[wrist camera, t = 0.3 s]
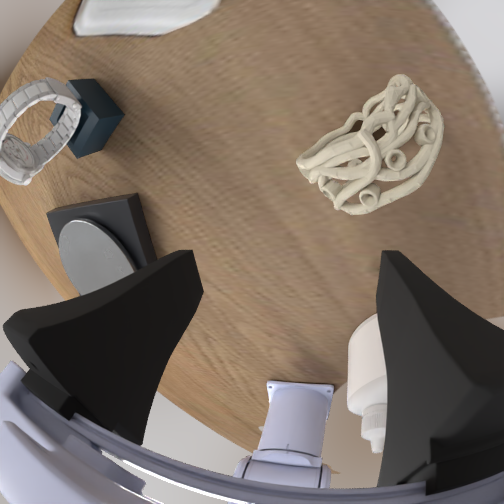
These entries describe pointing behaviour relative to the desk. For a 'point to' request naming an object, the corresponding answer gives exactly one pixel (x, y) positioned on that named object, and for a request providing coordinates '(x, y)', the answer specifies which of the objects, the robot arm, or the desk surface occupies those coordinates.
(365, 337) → the eye dropper bottle
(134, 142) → the desk surface
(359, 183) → the bracelet
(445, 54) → the desk surface
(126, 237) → the scale
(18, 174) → the watch
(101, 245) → the scale pan
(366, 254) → the desk surface
